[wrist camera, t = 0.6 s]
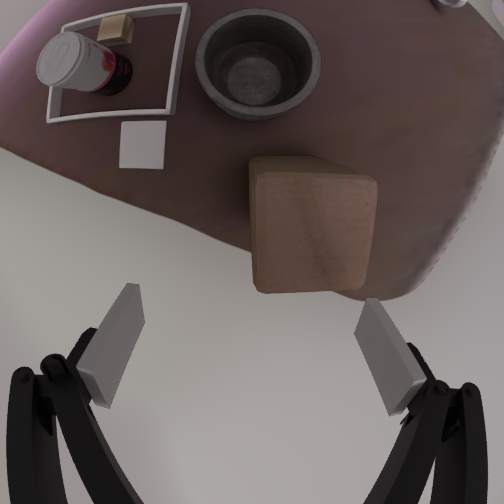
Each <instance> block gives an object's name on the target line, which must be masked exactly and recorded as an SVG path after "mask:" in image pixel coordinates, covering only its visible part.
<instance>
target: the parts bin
mask: <svg viewBox="0 0 504 504" xmlns="http://www.w3.org/2000/svg"><path fill="white" fill-rule="evenodd" d="M191 11H192V10H191V8H190V6H189V4H188V3H173V4H161V5H152V6H144V7H137V8H131V9H125V10H120V11H115V12H110V13H105V14H101V15H97V16H93V17H89V18H85V19H82V20H78V21H75V22H72V23H69V24H65V25H62V29H61V33H63V32H74V31H78V30H82V29H85V28H89V27H93V26H98V25H100V24H101V21H102V18H106V17H111V16H116V15H121V14H127V15H128V16H129V17H131V18H132V19H135V18H142V17H151V16H160V15H173V14H181V17H180V21H179V26H178V31H177V36H176V42H175V47H174V53H173V59H172V66H171V72H170V79H169V87H168V95H167V103H166V109H142V110H121V111H108V112H97V113H87V114H79V115H71V116H64V117H60V108H61V98H62V90H63V88H60V87H52V86H50V90H49V98H48V107H47V119H46V123H57V122H64V121H72V120H80V119H89V118H100V117H113V116H131V115H175V113H176V104H177V95H178V87H179V80H180V73H181V66H182V59H183V53H184V47H185V42H186V36H187V31H188V25H189V20H190V16H191Z"/></svg>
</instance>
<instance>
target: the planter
mask: <svg viewBox="0 0 504 504" xmlns="http://www.w3.org/2000/svg"><path fill="white" fill-rule="evenodd" d="M321 66H322V60H321V53H320V49H319V47H318V44H317V42H316V40H315V38H314V37H313V35H312V34H311V33H310V31H309V30H308V29H307V28H306V27H305V26H304V25H303V24H302V23H300V22H299V21H298V20H296V19H295V18H293V17H291V16H289V15H287V14H285V13H282V12H280V11H276V10H272V9H266V8H246V9H241V10H237V11H233V12H231V13H228V14H226V15H224V16H222V17H221V18H219V19H217V20H216V21H215V22H214V23H212V24H211V25H210V26H209V27H208V28H207V29H206V31H205V32H204V33H203V35H202V37H201V38H200V40H199V43H198V45H197V48H196V53H195V70H196V74H197V77H198V80H199V82H200V84H201V86H202V87H203V89H204V90H205V92H206V93H207V94H208V95H209V97H210V98H211V99H212V100H213V101H214V102H215V104H216V105H217V106H218V107H219V108H221V109H222V110H223V111H224V112H226V113H227V114H229V115H231V116H233V117H235V118H238V119H241V120H246V121H266V120H270V119H273V118H276V117H279V116H281V115H283V114H284V113H286V112H288V111H289V110H291V109H293V108H294V107H296V106H297V105H299V104H300V103H302V102H303V101H304V100H305V99H306V98H307V97H308V96H309V95H310V94H311V93H312V91H313V90H314V88H315V86H316V85H317V83H318V80H319V77H320V73H321Z"/></svg>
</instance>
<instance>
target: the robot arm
mask: <svg viewBox="0 0 504 504" xmlns="http://www.w3.org/2000/svg"><path fill="white" fill-rule="evenodd" d="M144 323H145V320H144V314H143V307H142V301H141V293H140V286H139V284H132V283H127V284H126V286H125V287H124V288H123V290H122V291H121V293H120V295H119V296H118V298H117V299H116V301H115V302H114V304H113V305H112V307H111V309H110V310H109V312H108V313H107V315H106V316H105V318H104V320H103V321H102V323H101V324H100V326H99V328H98V329H96V328H91V327H90V328H89V329H87V330H86V331H85V332H84V333H82V335H81V336H80V338H79V340H78V342H77V343H76V344H75V347H74V348H73V349H72V351H71V353H70V354H69V356H68V358H67V359H65V358H64V356H62V355H60V354H50V355H48V356H46V357H45V358H44V359H43V360H42V362H41V364H40V369H41V371H42V373H43V374H44V375H35V374H34V372H33V371H32V369H30V368H29V367H20V368H18V369H17V370H15V372H14V373H13V375H12V379H11V386H10V394H9V402H8V414H7V434H6V457H7V475H8V487H9V495H10V502H11V504H68V502H67V498H66V494H65V489H64V484H63V478H62V473H61V466H60V459H59V452H58V451H59V450H58V441H57V429H56V416H57V418H58V421H59V424H60V427H61V430H62V433H63V436H64V439H65V441H66V444H67V447H68V449H69V452H70V454H71V457H72V459H73V462H74V464H75V465H76V468H77V471H78V473H79V475H80V477H81V479H82V481H83V483H84V485H85V487H86V489H87V491H88V493H89V495H90V497H91V499H92V501H93V503H94V504H144V503H143V502H142V500H141V499H140V497H139V496H138V494H137V493H136V491H135V490H134V488H133V487H132V485H131V484H130V482H129V481H128V479H127V477H126V476H125V474H124V472H123V471H122V469H121V467H120V466H119V464H118V462H117V460H116V459H115V457H114V455H113V453H112V451H111V449H110V447H109V445H108V443H107V441H106V440H105V438H104V435H103V434H102V431H101V429H100V427H99V425H98V423H97V421H96V418H95V416H94V414H93V412H92V410H91V407H90V405H89V403H90V401H91V399H92V400H93V402H94V403H95V405H97V406H101V407H104V408H109V409H110V406H111V404H112V401H113V398H114V396H115V393H116V391H117V388H118V385H119V383H120V380H121V378H122V375H123V373H124V370H125V368H126V365H127V362H128V360H129V358H130V356H131V353H132V351H133V349H134V346H135V344H136V341H137V339H138V337H139V335H140V332H141V330H142V328H143V326H144ZM354 335H355V337H356V339H357V341H358V343H359V346H360V348H361V350H362V352H363V355H364V357H365V359H366V361H367V364H368V366H369V368H370V371H371V373H372V376H373V378H374V380H375V383H376V385H377V387H378V390H379V392H380V395H381V397H382V400H383V402H384V405H385V407H386V410H387V412H388V415H389V416H393V415H398V414H401V413H402V412H403V411H404V410H405V408H406V407H407V408H408V410H409V413H408V414H407V415H406V417H405V418H404V419H403V420H402V421H401V423H400V424H402V423H403V422H404V423H403V425H402V428H401V431H400V433H399V435H398V437H397V440H396V442H395V444H394V447H393V449H392V451H391V453H390V455H389V457H388V460H387V461H386V464H385V466H384V468H383V470H382V471H381V473H380V475H379V477H378V479H377V481H376V483H375V484H374V486H373V488H372V490H371V492H370V493H369V495H368V497H367V498H366V500H365V502H364V503H363V504H418V502H419V500H420V497H421V495H422V492H423V490H424V487H425V485H426V482H427V480H428V477H429V474H430V471H431V469H432V465H433V462H434V460H435V469H434V479H433V487H432V494H431V501H430V504H487V491H488V459H487V458H488V457H487V441H486V430H485V421H484V413H483V406H482V400H481V395H480V391H479V389H478V387H477V386H476V385H475V384H473V383H470V382H467V383H464V384H463V386H462V387H461V388H460V389H453V388H449V386H448V385H447V384H446V383H445V382H443V381H441V380H436V379H435V377H434V375H433V374H432V372H431V370H430V369H429V367H428V365H427V363H426V362H424V359H423V357H422V356H421V354H420V352H419V351H418V349H417V348H416V347H415V346H414V345H413V344H412V343H406V342H405V340H404V339H403V337H402V336H401V334H400V332H399V331H398V329H397V328H396V326H395V325H394V323H393V321H392V320H391V318H390V317H389V315H388V314H387V312H386V310H385V309H384V307H383V306H382V304H381V303H380V301H379V300H378V298H366V301H365V304H364V307H363V310H362V313H361V316H360V319H359V322H358V324H357V327H356V330H355V332H354ZM435 456H436V457H435Z"/></svg>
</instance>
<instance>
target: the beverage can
mask: <svg viewBox="0 0 504 504" xmlns="http://www.w3.org/2000/svg"><path fill="white" fill-rule="evenodd" d="M131 75H132V66H131V63H130V61H129V60H128V59H127V58H125V57H124V56H122V55H120V54H118V53H116V52H114V51H113V50H111V49H109V48H107V47H105V46H103V45H101V44H99V43H97V42H95V41H93V40H91V39H89V38H87V37H85V36H83V35H81V34H79V33H77V32H63V33H60V34H58V35H56V36H55V37H53V38H52V39H51V40H50V41H49V42H48V43H47V44H46V45H45V47H44V48H43V50H42V52H41V54H40V56H39V58H38V62H37V76H38V78H39V80H40V81H41V82H42V83H44V84H46V85H47V86H52V87H60V88H67V89H73V90H79V91H85V92H90V93H96V94H101V95H106V96H110V95H114V94H117V93H118V92H120V91H121V90H123V89H124V88H125V87H126V85H127V84H128V82H129V80H130V78H131Z"/></svg>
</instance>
